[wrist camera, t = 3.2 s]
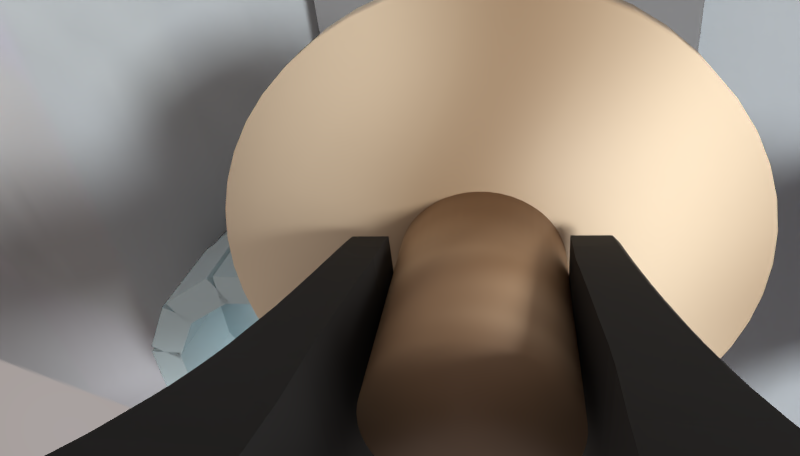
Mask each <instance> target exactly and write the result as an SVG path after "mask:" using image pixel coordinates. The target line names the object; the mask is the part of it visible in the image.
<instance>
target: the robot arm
mask: <svg viewBox="0 0 800 456" xmlns="http://www.w3.org/2000/svg"><path fill="white" fill-rule="evenodd" d="M393 272H394V271H393V264H392V257H391V250H390V243H389V236H352V237H351V238H350V239H349V240H348V241H346V242H345V243H344V244H343V245H342V246H341V247H340V248H339V249H337V250H336V251H335V252H334V253H333V254H332V255H331V256H330V257H329V258H328V259H327V260H326V261H325V262H323V263H322V264H321V265H320V266H319V267H318V268H317V269H316V270H315V271H314V272H313V273H312V274H311V275H309V276H308V277H307V278H306V279H305V280H304V281H303V282H302V283H301V284H299V285H298V286H297V287H296V288H295V289H294V290H293V291H292V292H291V293H289V294H288V295H287V296H286V297H285V298H284V299H283V300H282V301H280V302H279V303H278V304H277V305H276V306H275V307H274V308H272V309H271V310H270V311H269V312H267V313H266V314H265V315H264V316H262V317H261V318H260V319H259V320H257V321H256V322H255V323H254V324H253V325H251V326H250V327H249V328H248V329H246V330H245V331H244V332H243V333H241V334H240V335H239V336H238V337H237V338H235V339H234V340H233V341H232V342H230V343H229V344H228V345H226V346H225V347H224V348H222V349H221V350H220V351H218V352H217V353H216V354H214V355H213V356H212V357H210V358H209V359H207V360H206V361H205V362H203V363H202V364H200V365H199V366H197V367H196V368H194V369H193V370H191V371H190V372H189V373H187V374H186V375H184V376H183V377H181V378H180V379H178V380H177V381H175V382H174V383H172V384H171V385H169V386H168V387H166V388H164V389H163V390H161V391H160V392H158V393H157V394H155V395H153V396H151V397H150V398H148V399H146V400H145V401H143V402H141V403H139V404H138V405H136V406H134V407H133V408H131V409H129V410H127V411H126V412H124V413H122V414H121V415H119V416H117V417H116V418H114V419H112V420H110V421H109V422H107V423H105V424H104V425H102V426H100V427H98V428H97V429H95V430H93V431H91V432H89V433H88V434H86V435H84V436H82V437H80V438H78V439H76V440H74V441H72V442H71V443H69V444H67V445H65V446H63V447H61V448H59V449H57V450H55V451H53V452H51V453H49V454H47V455H45V456H374V455H373V454H372V452H371V451H370V449H369V448H368V447H367V445H366V444H365V442H364V440H363V438H362V435H361V433H360V430H359V427H358V423H357V415H356V411H357V402H358V398H359V394H360V390H361V387H362V383H363V380H364V376H365V373H366V369H367V365H368V362H369V358H370V355H371V351H372V347H373V344H374V340H375V337H376V333H377V330H378V326H379V322H380V319H381V315H382V312H383V308H384V305H385V301H386V297H387V294H388V290H389V287H390V283H391V280H392V276H393ZM569 282H570V290H571V299H572V307H573V316H574V322H575V329H576V335H577V343H578V351H579V359H580V367H581V375H582V383H583V391H584V399H585V407H586V415H587V423H588V437H587V443H586V447H585V449H584V452H583V455H582V456H800V428H799V427H798V426H796V425H795V424H794V423H793V422H791V421H790V420H789V419H788V418H786V417H785V416H784V415H783V414H782V413H781V412H779V411H778V410H777V409H776V408H775V407H773V406H772V405H771V404H770V403H769V402H767V401H766V400H765V399H764V398H763V397H761V396H760V395H759V394H758V393H757V392H755V391H754V390H753V389H752V388H751V387H750V386H749V385H747V384H746V383H745V382H744V381H743V380H742V379H741V378H740V377H739V376H738V375H737V374H736V373H735V372H733V371H732V370H731V369H730V368H729V367H728V366H727V365H726V364H725V363H724V362H723V361H722V360H721V359H720V358H719V357H718V356H717V355H716V354H715V353H714V352H713V351H712V350H711V349H710V348H709V347H708V346H707V345H706V344H705V343H704V342H703V341H702V340H701V339H700V338H699V337H698V336H697V335H696V334H695V333H694V332H693V331H692V330H691V329H690V327H689V326H688V325H687V324H686V323H685V322H684V321H683V320H682V319H681V317H680V316H679V315H678V314H677V313H676V312H675V311H674V310H673V309H672V307H671V306H670V305H669V304H668V303H667V302H666V301H665V300H664V298H663V297H662V296H661V295H660V294H659V293H658V291H657V290H656V289H655V288H654V287H653V285H652V284H651V283H650V282H649V280H648V279H647V278H646V277H645V275H644V274H643V273H642V272H641V270H640V269H639V268H638V267H637V265H636V264H635V263H634V261H633V260H632V259H631V257H630V256H629V255H628V253H627V252H626V250H625V249H624V248H623V246H622V245H621V244H620V242H619V241H618V240H617V239H616V238H615V237H614V236H613V235H570V259H569Z"/></svg>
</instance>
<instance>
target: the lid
mask: <svg viewBox="0 0 800 456" xmlns="http://www.w3.org/2000/svg"><path fill="white" fill-rule="evenodd" d="M225 212H226V224H227V237H228V242H229V246H230V251H231V255H232V260H233V264H234V267H235V270H236V272H237V275H238V278H239V280H240V283H241V286H242V288H243V291H244V293H245V295H246V297H247V299H248V300H249V302H250V304H251V306H252V308H253V310H254V312H255V314H256V315H257V317H258V318H259V319H260V318H261V317H262V316H264V315H265V314H266V313H267V312H269V311H270V310H271V309H272V308H274V307H275V306H276V305H277V304H278V303H279V302H280V301H282V300H283V299H284V298H285V297H286V296H287V295H288V294H289V293H291V292H292V291H293V290H294V289H295V288H296V287H297V286H298V285H299V284H301V283H302V282H303V281H304V280H305V279H306V278H307V277H308V276H309V275H311V274H312V273H313V272H314V271H315V270H316V269H317V268H318V267H319V266H320V265H321V264H322V263H323V262H325V261H326V260H327V259H328V258H329V257H330V256H331V255H332V254H333V253H334V252H335V251H336V250H337V249H339V248H340V247H341V246H342V245H343V244H344V243H345V242H346V241H348V240H349V239H350V238H351V237H352V236H389V243H390V250H391V257H392V264H393V271H394V272H393V276H392V280H391V283H390V287H389V290H388V294H387V297H386V301H385V305H384V308H383V312H382V315H381V319H380V322H379V326H378V330H377V333H376V337H375V340H374V344H373V347H372V351H371V355H370V358H369V362H368V365H367V369H366V373H365V376H364V380H363V383H362V387H361V390H360V394H359V398H358V402H357V411H356V415H357V423H358V427H359V430H360V433H361V435H362V438H363V440H364V442H365V444H366V445H367V447H368V448H369V449H370V451H371V452H372V454H373V455H374V456H582V455H583V452H584V449H585V447H586V443H587V437H588V423H587V415H586V407H585V399H584V391H583V383H582V375H581V367H580V359H579V351H578V343H577V335H576V329H575V322H574V316H573V307H572V299H571V290H570V282H569V259H570V235H613V236H614V237H615V238H616V239H617V240H618V241H619V242H620V244H621V245H622V246H623V248H624V249H625V250H626V252H627V253H628V255H629V256H630V257H631V259H632V260H633V261H634V263H635V264H636V265H637V267H638V268H639V269H640V270H641V272H642V273H643V274H644V275H645V277H646V278H647V279H648V280H649V282H650V283H651V284H652V285H653V287H654V288H655V289H656V290H657V291H658V293H659V294H660V295H661V296H662V297H663V298H664V300H665V301H666V302H667V303H668V304H669V305H670V306H671V307H672V309H673V310H674V311H675V312H676V313H677V314H678V315H679V316H680V317H681V319H682V320H683V321H684V322H685V323H686V324H687V325H688V326H689V327H690V329H691V330H692V331H693V332H694V333H695V334H696V335H697V336H698V337H699V338H700V339H701V340H702V341H703V342H704V343H705V344H706V345H707V346H708V347H709V348H710V349H711V350H712V351H713V352H714V353H715V354H716V355H717V356H718V357H719V358H721V357H722V356H723V355H724V354H725V353H726V352H727V351H728V350H729V349H730V348H731V346H732V345H733V344H734V342H735V341H736V339H737V338H738V337H739V335H740V334H741V332H742V331H743V330H744V328H745V327H746V325H747V324H748V323H749V321H750V319H751V317H752V315H753V313H754V311H755V309H756V307H757V305H758V303H759V301H760V299H761V297H762V295H763V293H764V290H765V287H766V284H767V281H768V278H769V275H770V271H771V268H772V265H773V260H774V254H775V247H776V241H777V234H778V217H777V195H776V190H775V185H774V180H773V175H772V170H771V165H770V162H769V160H768V157H767V154H766V152H765V149H764V147H763V144H762V142H761V139H760V137H759V134H758V131H757V129H756V128H755V126H754V124H753V123H752V121H751V120H750V118H749V116H748V115H747V113H746V111H745V110H744V108H743V106H742V105H741V103H740V101H739V100H738V98H737V97H736V96H735V95H734V93H733V92H732V91H731V90H730V89H729V88H728V86H727V85H726V84H725V83H724V82H723V81H722V79H721V78H720V77H719V76H718V75H717V74H716V72H715V71H714V70H713V69H712V68H711V67H710V65H709V64H708V63H707V62H706V61H705V60H704V58H703V57H702V56H701V55H700V54H699V53H698V51H697V50H695V49H694V48H693V47H692V46H691V45H690V44H688V43H687V42H686V41H685V40H684V39H682V38H681V37H680V36H679V35H678V34H677V33H675V32H674V31H673V30H672V29H671V28H669V27H668V26H667V25H665V24H664V23H662V22H660V21H659V20H657V19H656V18H654V17H652V16H651V15H649V14H647V13H646V12H644V11H643V10H641V9H639V8H638V7H636V6H634V5H633V4H630V3H628V2H626V1H623V0H373V1H371V2H369V3H367V4H365V5H363V6H360V7H358V8H356V9H355V10H353V11H352V12H350V13H349V14H347V15H346V16H344V17H343V18H341V19H340V20H338V21H337V22H335V23H334V24H332V25H331V26H329V27H328V28H326V29H325V30H324V31H323V32H322V33H321V34H319V35H318V36H317V37H316V38H315V39H314V40H313V41H312V42H310V43H309V44H308V45H307V46H306V47H305V48H304V49H303V50H301V51H300V52H299V53H298V54H297V55H296V56H295V57H294V58H293V59H292V60H291V61H290V62H289V63H288V64H287V65H286V66H285V67H284V69H283V70H282V71H281V72H280V73H279V75H278V76H277V77H276V78H275V79H274V81H273V82H272V83H271V84H270V85H269V87H268V88H267V89H266V90H265V91H264V93H263V94H262V96H261V97H260V99H259V101H258V102H257V104H256V106H255V107H254V109H253V111H252V112H251V114H250V116H249V117H248V119H247V121H246V123H245V125H244V128H243V130H242V133H241V135H240V138H239V140H238V143H237V145H236V148H235V150H234V154H233V158H232V163H231V167H230V171H229V176H228V180H227V193H226V207H225Z"/></svg>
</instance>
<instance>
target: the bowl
mask: <svg viewBox="0 0 800 456" xmlns="http://www.w3.org/2000/svg"><path fill="white" fill-rule="evenodd" d="M257 320H259V318H258V317H257V315H256V314H255V312H254V310H253V308H252V306H251V304H250V302H249V300H248V299H247V297H246V295H245V293H244V291H243V288H242V286H241V283H240V280H239V278H238V275H237V272H236V270H235V267H234V264H233V260H232V255H231V251H230V246H229V242H228V237H227V231H226V232H225V233H224V234H223V235H222V236H221V237H220V239H219V240H218V241H217V242H216V243H215V245H213V246H211V247H210V248H208V249H207V250H206V251H205V252H204V254H203V255H202V256H201V258H200V259H199V260H198V261H197V263H196V264H195V265H194V267H193V268H192V269H191V271H190V272H189V273H188V274H187V276H186V277H185V278H184V280H183V281H182V282H181V284H180V285H179V286H178V287H177V289H176V290H175V291H174V293H173V294H172V295H171V297H170V298H169V299H168V300H167V302H166V303H165V304H164V306H163V307H162V310H161V314H160V317H159V321H158V325H157V328H156V332H155V336H154V339H153V343H152V347H155V348H154V349H153V351H152V352H153V355H154V357H155V360H156V362H157V364H158V367H159V369H160V371H161V374H162V376H163V379H164V381H165V383H166V386H167V387H168V386H169V385H171V384H172V383H174V382H175V381H177V380H178V379H180V378H181V377H183V376H184V375H186V374H187V373H189V372H190V371H191V370H193V369H194V368H196V367H197V366H199V365H200V364H202V363H203V362H205V361H206V360H207V359H209V358H210V357H212V356H213V355H214V354H216V353H217V352H218V351H220V350H221V349H222V348H224V347H225V346H226V345H228V344H229V343H230V342H232V341H233V340H234V339H235V338H237V337H238V336H239V335H240V334H241V333H243V332H244V331H245V330H246V329H248V328H249V327H250V326H251V325H253V324H254V323H255V322H256V321H257Z"/></svg>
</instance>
